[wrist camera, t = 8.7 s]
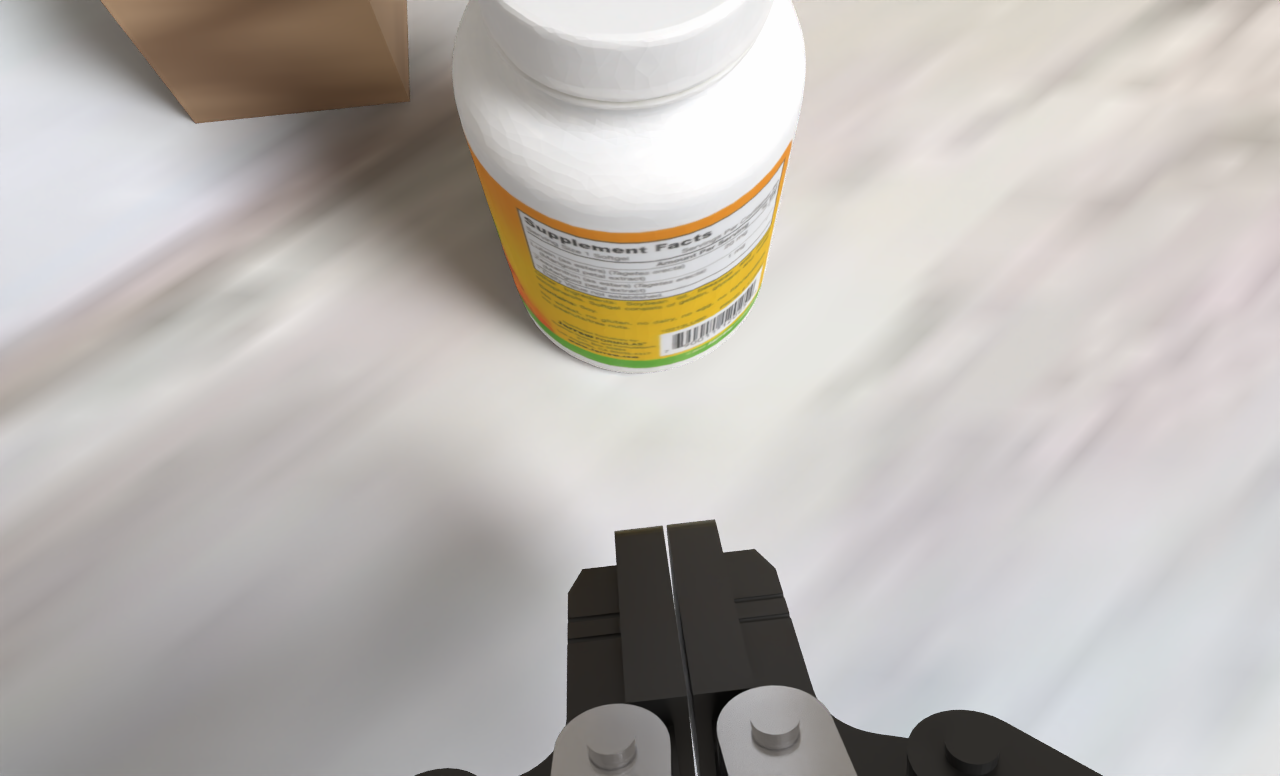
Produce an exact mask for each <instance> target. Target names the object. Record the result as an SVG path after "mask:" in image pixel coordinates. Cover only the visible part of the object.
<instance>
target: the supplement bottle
mask: <svg viewBox="0 0 1280 776" xmlns="http://www.w3.org/2000/svg"><path fill="white" fill-rule="evenodd" d="M805 72H806V58H805V46H804V39H803V33H802V29H801V26H800V22H799V19H798V17H797V14H796V11H795V8H794V6H793V3H792V1H791V0H470V1H469V3H468V5H467V7H466V9H465V11H464V14H463V16H462V19H461V22H460V24H459V27H458V30H457V35H456V39H455V45H454V50H453V60H452V80H453V88H454V96H455V101H456V105H457V109H458V113H459V117H460V120H461V124H462V127H463V131H464V134H465V137H466V140H467V143H468V146H469V149H470V152H471V155H472V158H473V161H474V164H475V167H476V170H477V173H478V176H479V178H480V181H481V184H482V187H483V190H484V193H485V196H486V199H487V202H488V205H489V208H490V211H491V214H492V217H493V220H494V223H495V226H496V229H497V232H498V235H499V238H500V241H501V244H502V247H503V250H504V253H505V256H506V259H507V262H508V264H509V267H510V270H511V272H512V276H513V279H514V282H515V284H516V287H517V290H518V292H519V294H520V297H521V299H522V301H523V303H524V305H525V307H526V309H527V311H528V313H529V315H530V316H531V318H532V319H533V321H534V322H535V324H536V325H537V326H538V328H539V329H540V330H541V331H542V332H543V333H544V334H545V335H546V336H547V337H548V338H549V339H550V340H551V341H552V342H553V343H554V344H556V345H557V346H558V347H560V348H561V349H563V350H564V351H566V352H567V353H569V354H570V355H572V356H574V357H576V358H578V359H580V360H582V361H584V362H586V363H589V364H591V365H594V366H596V367H599V368H603V369H607V370H611V371H616V372H622V373H654V372H660V371H666V370H670V369H673V368H677V367H680V366H683V365H686V364H689V363H691V362H694V361H696V360H698V359H700V358H702V357H704V356H706V355H707V354H709V353H711V352H712V351H714V350H715V349H716V348H718V347H719V346H721V345H722V344H723V343H724V342H725V341H726V340H728V339H729V338H730V337H731V336H732V335H733V334H734V333H735V332H736V331H737V330H738V328H739V327H740V326H741V324H742V323H743V322H744V320H745V319H746V318H747V316H748V315H749V313H750V311H751V309H752V308H753V306H754V304H755V302H756V299H757V297H758V294H759V292H760V289H761V286H762V282H763V279H764V275H765V271H766V267H767V263H768V258H769V254H770V249H771V244H772V240H773V235H774V230H775V226H776V221H777V216H778V211H779V207H780V202H781V197H782V192H783V188H784V183H785V179H786V174H787V169H788V165H789V160H790V155H791V151H792V147H793V142H794V138H795V133H796V129H797V125H798V120H799V116H800V111H801V105H802V99H803V93H804V84H805Z"/></svg>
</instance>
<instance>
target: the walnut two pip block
mask: <svg viewBox="0 0 1280 776" xmlns="http://www.w3.org/2000/svg"><path fill="white" fill-rule="evenodd" d="M100 1H101V2H102V3H103V4H104V6H105V7H106V8H107V10H108V11H109V12H110V13H111V15H112V16H113V17H114V19H115V20H116V21H117V23H118V24H119V25H120V26H121V28H122V29H123V30H124V32H125V33H126V34H127V35H128V37H129V38H130V39H131V41H132V42H133V43H134V45H135V46H136V47H137V48H138V50H139V51H140V52H141V54H142V55H143V56H144V57H145V59H146V60H147V61H148V63H149V64H150V65H151V67H152V68H153V69H154V70H155V72H156V73H157V74H158V76H159V77H160V78H161V79H162V81H163V82H164V83H165V85H166V86H167V87H168V89H169V90H170V91H171V92H172V94H173V95H174V96H175V98H176V99H177V100H178V102H179V103H180V104H181V105H182V107H183V108H184V109H185V111H186V112H187V113H188V114H189V116H190V117H191V118H192V120H193V121H194V122H195V123H205V122H214V121H224V120H234V119H243V118H253V117H263V116H273V115H282V114H292V113H302V112H311V111H321V110H331V109H341V108H350V107H360V106H370V105H380V104H389V103H399V102H409V101H410V90H409V57H408V25H407V0H100Z"/></svg>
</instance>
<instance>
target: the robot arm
mask: <svg viewBox="0 0 1280 776" xmlns="http://www.w3.org/2000/svg"><path fill="white" fill-rule="evenodd" d="M667 536H668V546H669V556H670V565H671V575H672V585H673V594H672V587H671V580H670V573H669V566H668V559H667V553H666V546H665V539H664V532H663V526H656V527H647V528H638V529H630V530H621V531H615V547H616V563H617V565H615V566H606V567H598V568H589V569H582V571H581V573H580V574H579V576H578V578H577V579H576V581H575V583H574V584H573V586H572V587H571V589H570V591H569V592H568V646H567V720H566V726H565V727H564V729H563V730H562V731H561V733H560V734H559V736H558V738H557V741H556V743H555V747H554V751H553V752H552V753H551V754H550V755H549V756H548V757H547V758H546V759H545V760H544V761H543V762H542V763H540V764H539V765H538V766H536V767H535V768H533V769H532V770H530V771H528V772H526V773H524V774H522V775H520V776H695V768H694V758H693V748H692V738H693V745H694V752H695V759H696V766H697V773H698V776H1102V775H1101V774H1099V773H1097V772H1095V771H1093V770H1092V769H1090V768H1088V767H1086V766H1084V765H1082V764H1081V763H1079V762H1077V761H1075V760H1073V759H1072V758H1070V757H1068V756H1066V755H1064V754H1062V753H1061V752H1059V751H1057V750H1055V749H1053V748H1052V747H1050V746H1048V745H1046V744H1044V743H1042V742H1041V741H1039V740H1037V739H1035V738H1033V737H1032V736H1030V735H1028V734H1026V733H1024V732H1023V731H1021V730H1019V729H1017V728H1015V727H1013V726H1012V725H1010V724H1008V723H1006V722H1004V721H1002V720H1000V719H998V718H996V717H994V716H991V715H988V714H985V713H980V712H976V711H969V710H950V711H944V712H940V713H936V714H933V715H931V716H929V717H927V718H925V719H924V720H922V721H921V722H920V723H918V724H917V726H916V727H915V728H914V729H913V730H912V732H911V734H910V736H909V738H903V737H896V736H889V735H882V734H876V733H871V732H866V731H862V730H859V729H856V728H854V727H851V726H849V725H847V724H845V723H843V722H841V721H840V720H838V719H836V718H835V717H834V716H832V715H831V714H830V713H829V711H828V709H827V708H826V707H825V706H824V705H823V704H822V703H821V702H820V701H819V700H818V699H817V698H816V695H815V693H814V691H813V688H812V684H811V681H810V678H809V675H808V672H807V668H806V665H805V662H804V659H803V656H802V652H801V649H800V646H799V643H798V639H797V636H796V633H795V630H794V627H793V623H792V620H791V618H790V616H789V611H788V607H787V604H786V601H785V598H784V597H783V591H782V588H781V585H780V582H779V578H778V575H777V572H776V569H775V568H774V567H773V566H772V565H771V564H770V563H769V562H768V561H767V560H766V559H765V558H764V557H763V556H761V555H760V554H759V553H758V552H757V551H756V550H755V549H751V550H742V551H734V552H725V553H723V551H722V547H721V542H720V538H719V534H718V530H717V525H716V522H715V520H706V521H697V522H689V523H680V524H671V525H667ZM673 595H674V601H673ZM674 605H675V608H674ZM675 614H676V615H675ZM689 717H690V718H689ZM690 724H691V728H690ZM691 731H692V738H691ZM415 776H476V775H475V774H472V773H470V772H468V771H464V770H460V769H451V768H444V769H435V770H430V771H426V772H423V773H420V774H417V775H415Z"/></svg>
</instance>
